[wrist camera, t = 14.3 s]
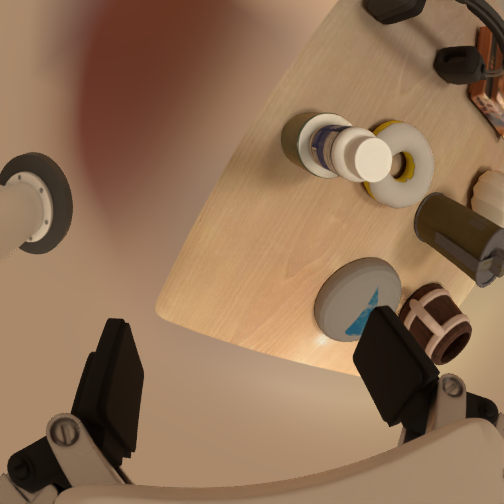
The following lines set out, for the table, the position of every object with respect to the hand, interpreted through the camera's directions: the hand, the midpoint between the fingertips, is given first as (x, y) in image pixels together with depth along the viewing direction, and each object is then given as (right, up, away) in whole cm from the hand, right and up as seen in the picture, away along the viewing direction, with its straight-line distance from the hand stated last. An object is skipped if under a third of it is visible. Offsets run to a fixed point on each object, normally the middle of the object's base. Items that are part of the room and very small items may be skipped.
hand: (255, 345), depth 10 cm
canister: (+35, +10, +35) cm, 51 cm away
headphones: (+27, +40, +19) cm, 52 cm away
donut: (+22, +18, +29) cm, 41 cm away
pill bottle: (+9, +16, +20) cm, 27 cm away
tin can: (+8, +19, +26) cm, 33 cm away
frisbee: (+20, -6, +41) cm, 46 cm away
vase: (+52, +16, +35) cm, 64 cm away
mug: (+39, -9, +46) cm, 60 cm away
